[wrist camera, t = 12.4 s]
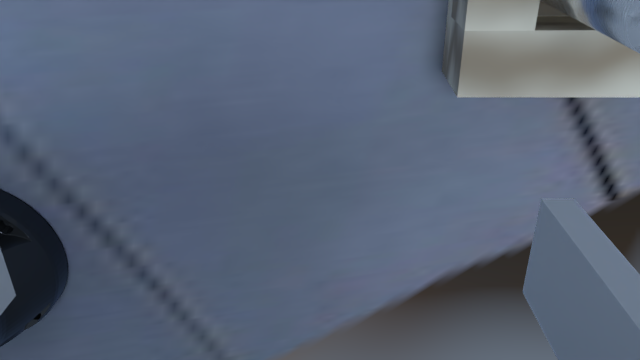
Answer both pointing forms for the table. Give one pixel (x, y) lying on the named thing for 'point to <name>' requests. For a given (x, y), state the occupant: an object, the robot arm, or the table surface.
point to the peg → (606, 17)
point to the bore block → (532, 53)
